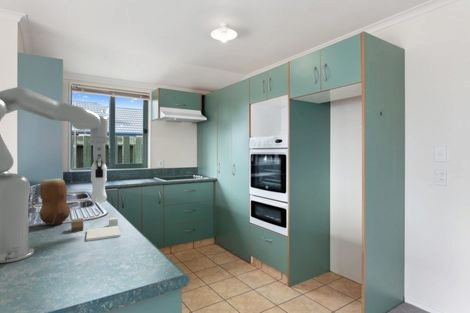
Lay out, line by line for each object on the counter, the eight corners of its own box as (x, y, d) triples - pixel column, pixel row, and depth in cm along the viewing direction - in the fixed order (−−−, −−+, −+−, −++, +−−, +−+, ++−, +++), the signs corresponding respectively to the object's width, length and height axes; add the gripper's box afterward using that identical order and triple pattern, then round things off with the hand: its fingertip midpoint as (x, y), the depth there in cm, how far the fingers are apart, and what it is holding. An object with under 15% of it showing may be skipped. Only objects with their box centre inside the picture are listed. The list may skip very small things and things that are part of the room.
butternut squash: (50, 221, 152) (49, 177, 152) (74, 220, 153) (73, 177, 153) (33, 228, 139) (32, 180, 138) (60, 227, 140) (59, 179, 139)
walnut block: (83, 230, 135) (82, 220, 135) (71, 232, 133) (71, 222, 133) (83, 228, 139) (83, 218, 139) (72, 229, 137) (72, 219, 137)
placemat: (120, 236, 126) (120, 234, 126) (86, 241, 119) (86, 239, 119) (118, 227, 140) (117, 225, 140) (87, 231, 134) (87, 229, 134)
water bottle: (89, 204, 129) (89, 152, 129) (92, 201, 136) (92, 152, 136) (105, 203, 131) (105, 152, 131) (107, 200, 138) (107, 152, 138)
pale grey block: (117, 226, 143) (117, 218, 143) (109, 227, 141) (109, 219, 141) (117, 224, 146) (117, 217, 146) (109, 225, 144) (108, 218, 144)
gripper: (108, 140, 128) (108, 178, 128) (106, 141, 143) (106, 175, 143) (90, 140, 124) (90, 178, 124) (90, 141, 139) (90, 175, 139)
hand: (98, 176), depth 134 cm, fingers closed on water bottle, 7 cm apart
